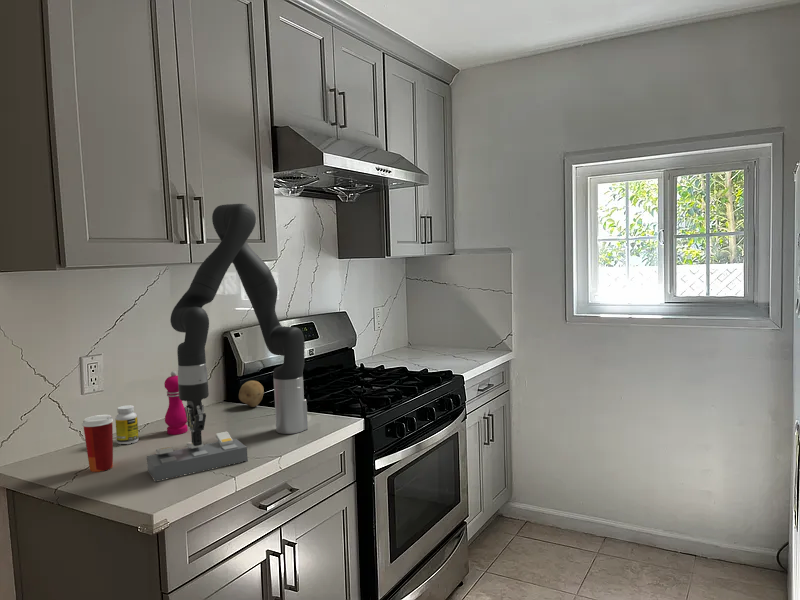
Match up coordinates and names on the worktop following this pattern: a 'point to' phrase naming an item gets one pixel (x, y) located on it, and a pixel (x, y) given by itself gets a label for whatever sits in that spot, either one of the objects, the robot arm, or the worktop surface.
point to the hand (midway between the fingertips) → (196, 444)
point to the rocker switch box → (195, 459)
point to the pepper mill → (175, 407)
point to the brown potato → (251, 393)
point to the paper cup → (99, 442)
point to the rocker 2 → (224, 438)
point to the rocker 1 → (164, 450)
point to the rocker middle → (190, 445)
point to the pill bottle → (126, 425)
